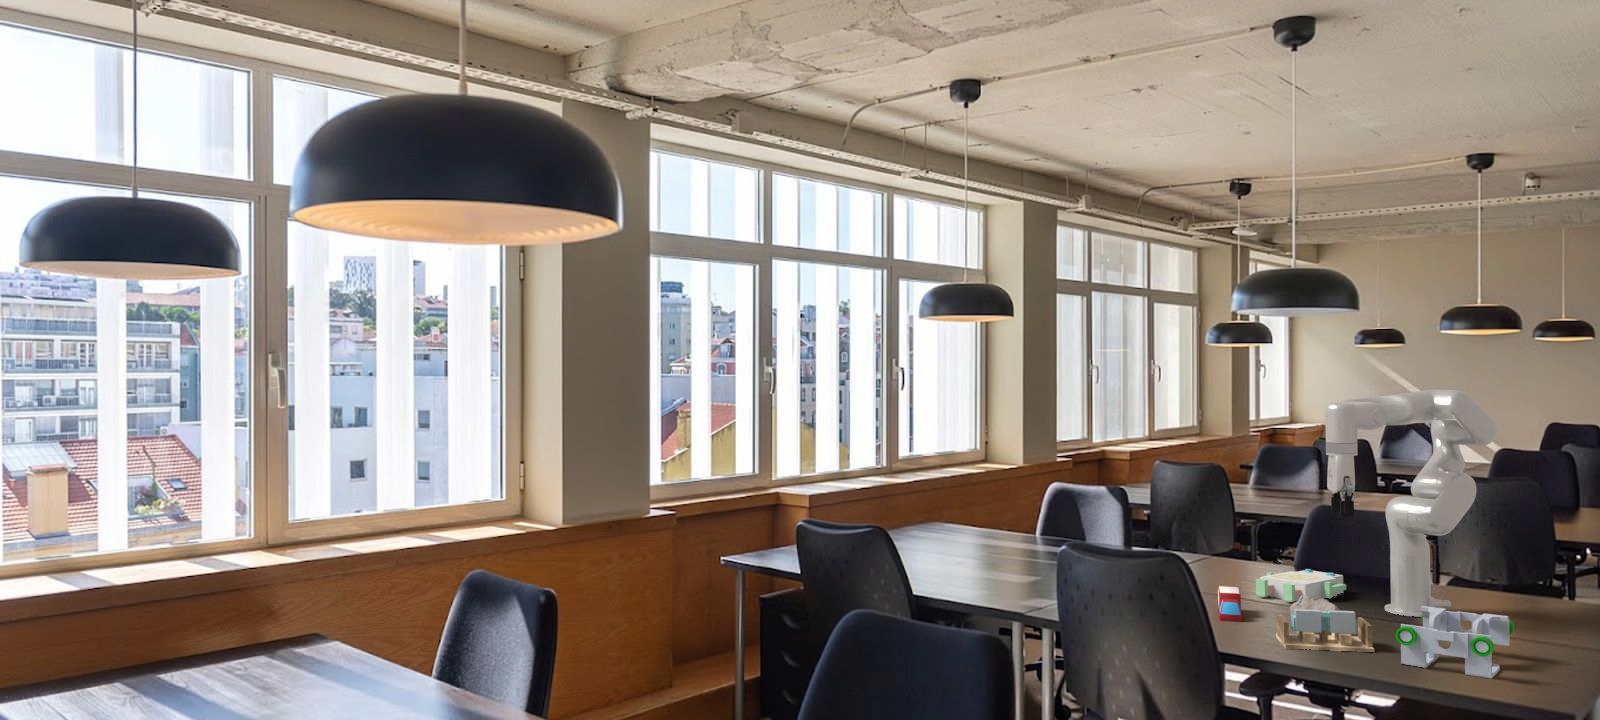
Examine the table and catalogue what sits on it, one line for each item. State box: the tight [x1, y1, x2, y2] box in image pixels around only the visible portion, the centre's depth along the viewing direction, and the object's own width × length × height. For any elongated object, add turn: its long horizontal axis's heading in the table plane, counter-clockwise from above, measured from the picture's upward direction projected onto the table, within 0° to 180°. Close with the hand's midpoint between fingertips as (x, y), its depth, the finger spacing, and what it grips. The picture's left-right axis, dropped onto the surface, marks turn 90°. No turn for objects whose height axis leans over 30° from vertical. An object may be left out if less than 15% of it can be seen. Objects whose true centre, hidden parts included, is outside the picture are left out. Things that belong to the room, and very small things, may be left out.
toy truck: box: [1217, 585, 1243, 623], centre depth 299 cm, size 6×15×7 cm, turn 161°
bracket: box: [1395, 606, 1515, 680], centre depth 250 cm, size 19×25×10 cm
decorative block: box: [1255, 568, 1347, 603], centre depth 324 cm, size 26×6×20 cm
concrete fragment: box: [1289, 595, 1341, 616], centre depth 293 cm, size 7×14×6 cm, turn 13°
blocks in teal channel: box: [1290, 609, 1358, 635], centre depth 266 cm, size 14×4×5 cm, turn 77°
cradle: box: [1275, 614, 1375, 653], centre depth 266 cm, size 19×12×6 cm, turn 77°
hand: (1342, 514), depth 291 cm, fingers open, 9 cm apart
